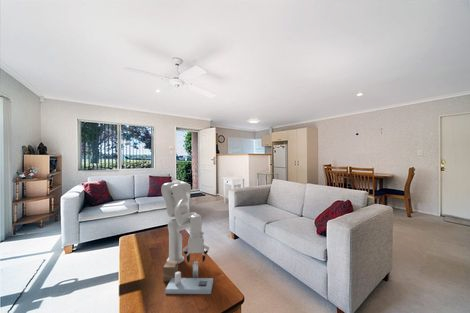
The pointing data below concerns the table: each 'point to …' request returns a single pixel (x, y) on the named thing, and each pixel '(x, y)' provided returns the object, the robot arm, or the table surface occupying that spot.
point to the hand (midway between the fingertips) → (196, 261)
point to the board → (189, 285)
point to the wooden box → (170, 270)
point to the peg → (195, 269)
